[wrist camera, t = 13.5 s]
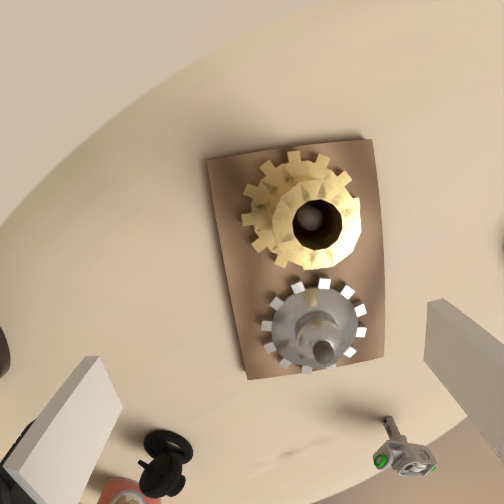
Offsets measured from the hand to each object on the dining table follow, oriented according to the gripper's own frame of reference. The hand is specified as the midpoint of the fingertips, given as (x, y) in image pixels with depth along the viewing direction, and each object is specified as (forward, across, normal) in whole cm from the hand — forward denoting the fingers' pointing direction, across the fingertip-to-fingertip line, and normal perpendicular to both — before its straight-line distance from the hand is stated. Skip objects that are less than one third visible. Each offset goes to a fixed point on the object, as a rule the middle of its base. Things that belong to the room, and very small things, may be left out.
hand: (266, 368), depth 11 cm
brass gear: (+20, -5, -3) cm, 21 cm away
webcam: (+22, +18, +28) cm, 40 cm away
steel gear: (+20, -4, +9) cm, 22 cm away
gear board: (+21, -5, +3) cm, 22 cm away
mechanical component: (+21, -14, +28) cm, 38 cm away
